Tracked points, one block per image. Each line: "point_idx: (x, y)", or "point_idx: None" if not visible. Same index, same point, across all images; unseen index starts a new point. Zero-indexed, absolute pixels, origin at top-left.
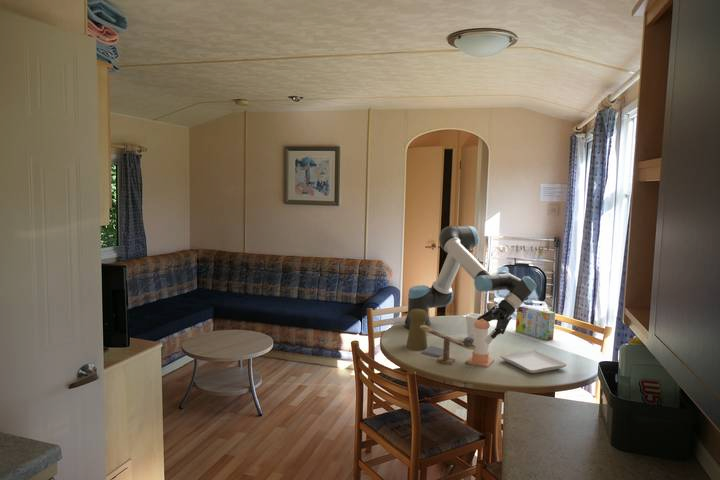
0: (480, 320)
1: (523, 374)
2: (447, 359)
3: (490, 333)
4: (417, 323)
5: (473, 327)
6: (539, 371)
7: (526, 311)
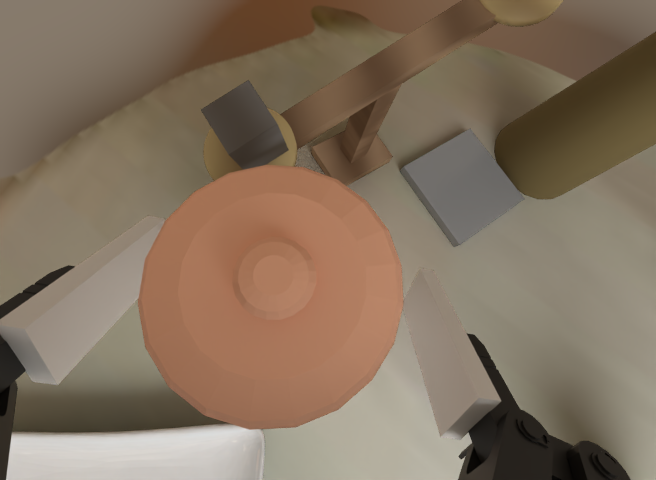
0: (306, 257)
1: (33, 396)
2: (342, 150)
3: (86, 273)
4: (653, 37)
5: (449, 309)
6: None
7: None
